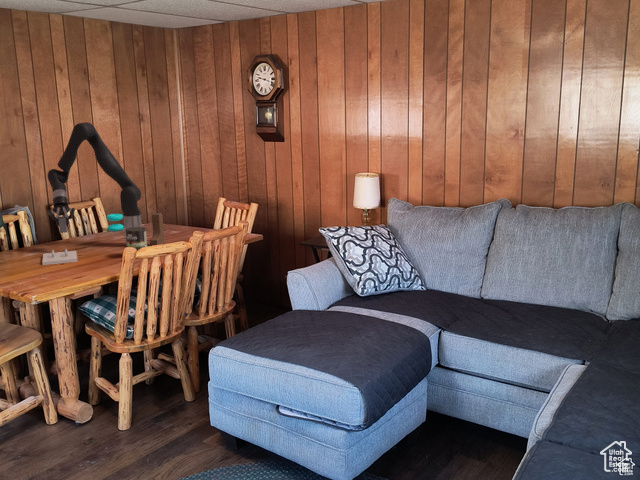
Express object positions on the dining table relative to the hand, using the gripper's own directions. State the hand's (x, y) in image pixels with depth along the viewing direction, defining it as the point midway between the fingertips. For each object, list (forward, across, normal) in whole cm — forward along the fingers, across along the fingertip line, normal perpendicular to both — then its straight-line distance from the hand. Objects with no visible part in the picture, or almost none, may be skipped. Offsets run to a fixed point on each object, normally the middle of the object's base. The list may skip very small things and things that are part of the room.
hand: (62, 225), depth 320 cm
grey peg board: (+22, -3, -1) cm, 22 cm away
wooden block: (+16, +47, +6) cm, 50 cm away
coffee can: (+29, +35, -7) cm, 45 cm away
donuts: (-27, +30, +49) cm, 64 cm away
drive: (+1, 0, +4) cm, 5 cm away
